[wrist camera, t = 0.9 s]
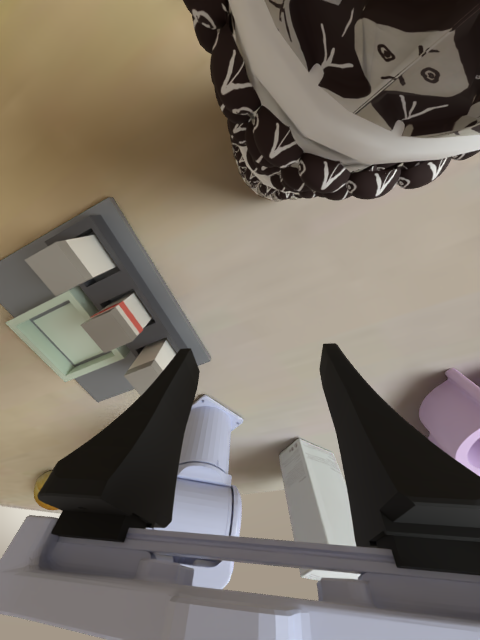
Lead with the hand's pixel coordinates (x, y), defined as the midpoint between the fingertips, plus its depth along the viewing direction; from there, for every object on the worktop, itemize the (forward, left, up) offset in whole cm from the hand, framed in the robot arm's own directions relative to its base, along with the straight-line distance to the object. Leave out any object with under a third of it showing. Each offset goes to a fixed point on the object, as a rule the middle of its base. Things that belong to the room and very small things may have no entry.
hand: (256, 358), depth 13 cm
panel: (-16, +10, -15) cm, 24 cm away
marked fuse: (-11, +8, -14) cm, 20 cm away
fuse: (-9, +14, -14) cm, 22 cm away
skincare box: (-16, -29, -15) cm, 36 cm away
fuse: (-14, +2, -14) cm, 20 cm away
